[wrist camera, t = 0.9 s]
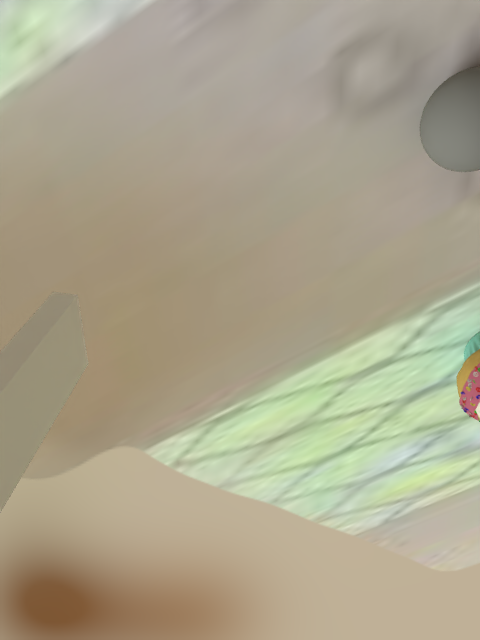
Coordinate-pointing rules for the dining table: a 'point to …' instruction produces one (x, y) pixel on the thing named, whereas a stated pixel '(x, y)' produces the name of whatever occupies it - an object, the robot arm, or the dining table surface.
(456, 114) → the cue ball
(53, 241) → the dining table surface
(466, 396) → the cupcake
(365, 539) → the dining table surface
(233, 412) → the dining table surface
